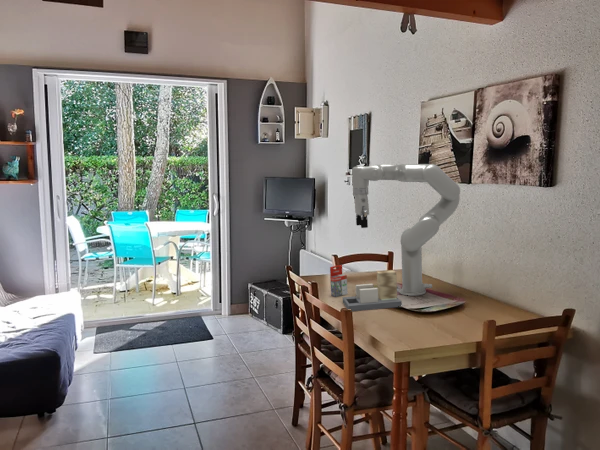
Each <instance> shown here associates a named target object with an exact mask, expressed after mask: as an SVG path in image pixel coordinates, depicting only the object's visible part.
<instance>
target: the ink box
mask: <svg viewBox="0 0 600 450" xmlns="http://www.w3.org/2000/svg"><path fill="white" fill-rule="evenodd" d="M329 274H330V275H329V276H330V277H329V278H330V279H329V280H330V295H331V296H332V297H333V298H337V297H342V296H344V295H348V293H349V292H348V275H347V274H344V273H343V264H337V265H333V266H330V267H329Z"/></svg>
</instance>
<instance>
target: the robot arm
mask: <svg viewBox="0 0 600 450" xmlns="http://www.w3.org/2000/svg"><path fill="white" fill-rule="evenodd" d="M351 175H352V177H351V178H352V179H351V180H352V195H353V196H354V210H355V211H354V212H355V221H356V222H355V225H356V226H360V228H361V229H366V228H367V229H368V227H369V224H368V223H369V222H368V216H369V215H370V205H369V197H368V196H369V181H370V182H378V181H398V182H402V183H427V184H428V185H429V186H430V187H431V188H432V189H433V190H434V191H436V193H437V194H439V195H440V196H441V197H440V200H439V201H438V202H437V203H436V204H435V205H433V207H432V208H431V209H429V210H428V211H427V212H426V213H424V214H423V215H422V216H421V217H420V218H419V219H418V221H417V222H416V223H415V224H414V225H413V226H412V227H411V228H406V229H404V231H403V232H402V233H401V235H400V247H401V248H400V249H401V250H400V251H401V279H402V280H401V282H402V287H401V288H399V291H398V292H399V294H400V295H402V296H407V295H408V296H407V297H409V296H411V297H415V296H416V297H418V296H423V295H425V294H426V292H427V291H426V289H432V288H433V284H432V283H423V267H422V266H423V265H422V264H423V259H422V258H423V256H422V255H423V253H422V247H423V246H424V245H425V244H426V243H427V242H429V241H430V240H431V239H432V238H433V237H435V236H436V234H437V233H438V232H439V230H440V226H441V225H442V224H443V223H444V222H446V221H447V220H448V219H449V218H450V217H451V216H452V215H453V214H454V213H455V211H456V210H457V208H458V207H459V205H460V200H461V199H460V196H461V195H460V194H461V187H460V185H459V184H457V182H455V181H454V180H453V179H452V178H451V177H450V176H449V175H448V174H446V172H445V171H444V170H442V169H441V168H440V166H439V165H437V164H434V163H431V164H430V163H401V164H373V165H370V166H369V165H368V166H367V165H366V166H364V165H359V166H353V167H352V169H351Z"/></svg>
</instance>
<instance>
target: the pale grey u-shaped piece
mask: <svg viewBox="0 0 600 450" xmlns="http://www.w3.org/2000/svg"><path fill="white" fill-rule="evenodd" d="M355 296H356V298H360V303H371V302H378V288H377V287H374V283H365V284H363V283H362V284H355Z"/></svg>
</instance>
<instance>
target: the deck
mask: <svg viewBox="0 0 600 450" xmlns="http://www.w3.org/2000/svg"><path fill="white" fill-rule="evenodd" d="M341 297H342V296H341ZM402 303H403V302H402V300H401V299H400V298H399V297H397V298H390V299H379V298H378V302H371V303H360V298H356V295H355V296H343V297H342V304H343V305H344V306H345V308H346V310H348V309H351V310H352V311H351V312H358V311H370V310H378V309H379V310H382V309H391V308H393V309H394V308H399V307H398V306H401V305H402V306H403V304H402Z"/></svg>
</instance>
